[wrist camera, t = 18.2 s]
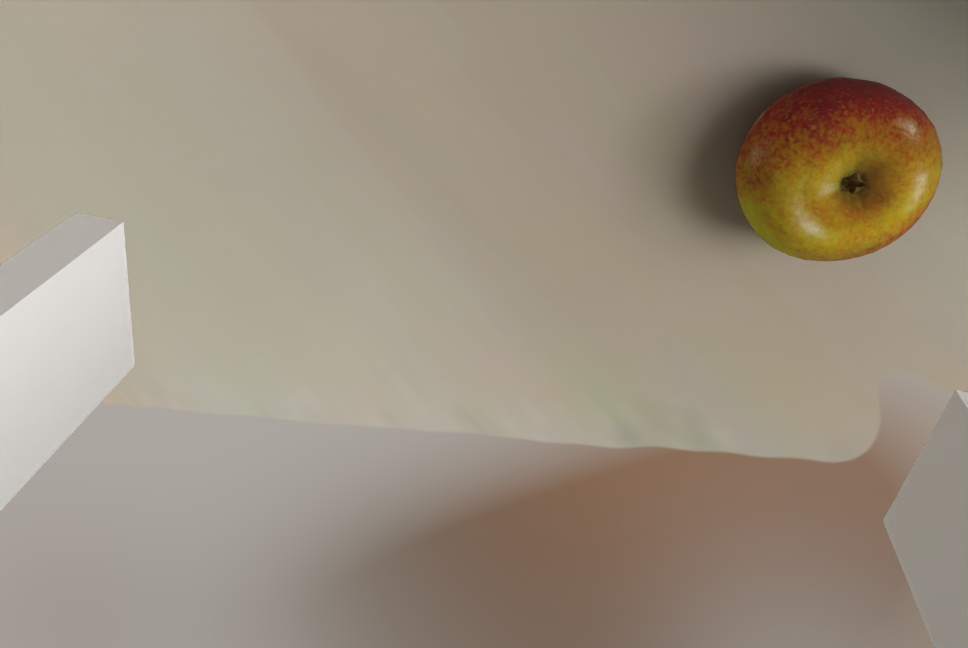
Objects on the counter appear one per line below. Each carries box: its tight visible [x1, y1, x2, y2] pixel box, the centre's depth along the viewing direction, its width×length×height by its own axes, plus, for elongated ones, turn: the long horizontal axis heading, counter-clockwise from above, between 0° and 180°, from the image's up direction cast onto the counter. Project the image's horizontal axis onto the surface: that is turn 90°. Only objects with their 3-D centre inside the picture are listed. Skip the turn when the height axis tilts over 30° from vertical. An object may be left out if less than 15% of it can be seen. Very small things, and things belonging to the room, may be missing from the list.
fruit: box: [736, 77, 942, 261], centre depth 41 cm, size 10×9×8 cm
